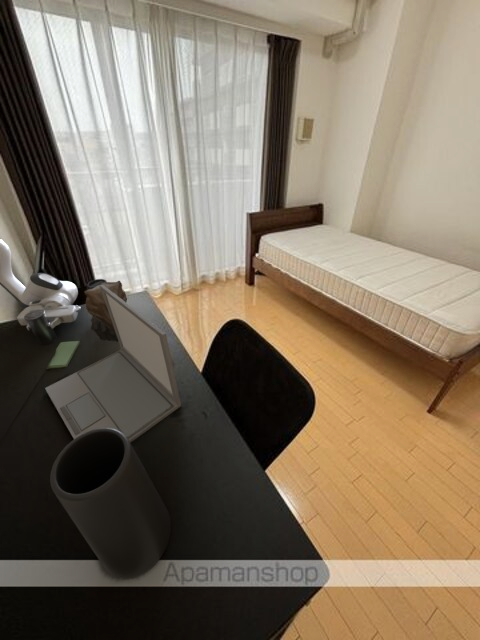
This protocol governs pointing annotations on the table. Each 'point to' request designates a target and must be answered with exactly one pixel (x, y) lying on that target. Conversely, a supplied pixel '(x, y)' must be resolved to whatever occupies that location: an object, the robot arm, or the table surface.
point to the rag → (63, 354)
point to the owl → (103, 309)
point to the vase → (112, 501)
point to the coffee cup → (95, 283)
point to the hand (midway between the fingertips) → (39, 327)
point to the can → (40, 326)
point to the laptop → (121, 380)
